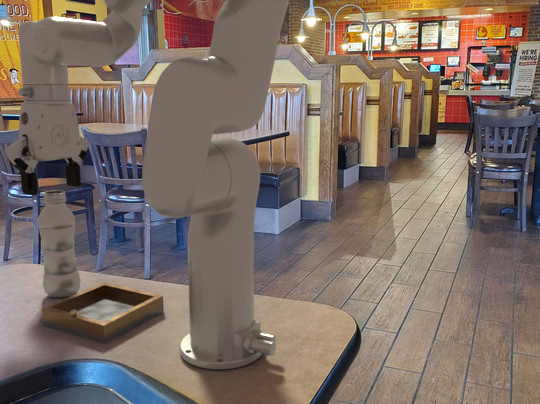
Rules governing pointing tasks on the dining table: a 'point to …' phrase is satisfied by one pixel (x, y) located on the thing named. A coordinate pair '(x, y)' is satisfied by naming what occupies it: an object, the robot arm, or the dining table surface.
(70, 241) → the plastic bottle
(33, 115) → the robot arm
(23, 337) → the dining table surface
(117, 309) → the collar base
